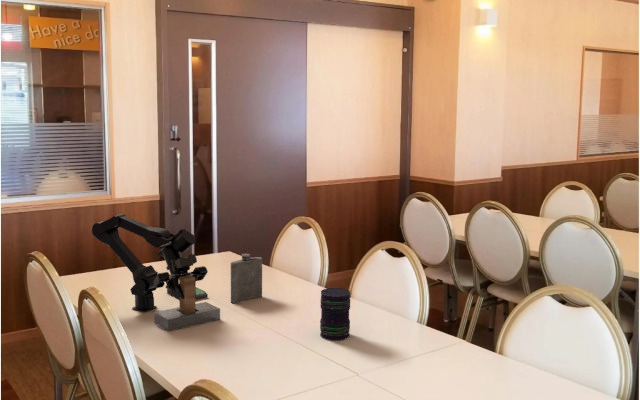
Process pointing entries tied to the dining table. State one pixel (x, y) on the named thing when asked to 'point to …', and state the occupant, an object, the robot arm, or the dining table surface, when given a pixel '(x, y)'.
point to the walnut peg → (187, 294)
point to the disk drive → (199, 295)
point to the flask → (246, 279)
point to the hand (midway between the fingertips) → (189, 297)
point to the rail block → (187, 316)
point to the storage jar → (335, 314)
